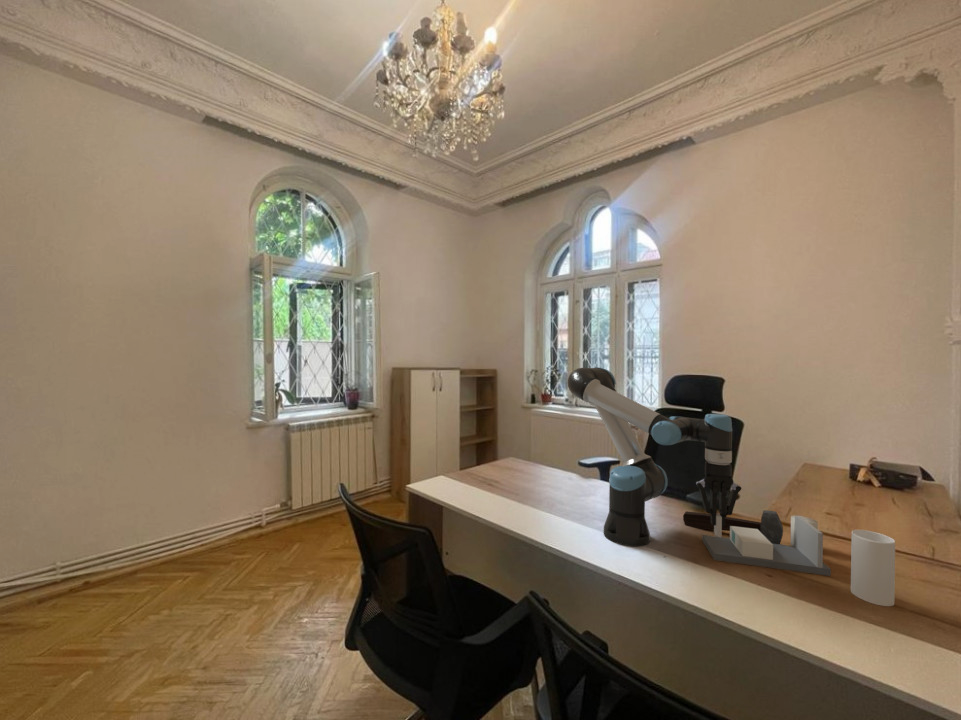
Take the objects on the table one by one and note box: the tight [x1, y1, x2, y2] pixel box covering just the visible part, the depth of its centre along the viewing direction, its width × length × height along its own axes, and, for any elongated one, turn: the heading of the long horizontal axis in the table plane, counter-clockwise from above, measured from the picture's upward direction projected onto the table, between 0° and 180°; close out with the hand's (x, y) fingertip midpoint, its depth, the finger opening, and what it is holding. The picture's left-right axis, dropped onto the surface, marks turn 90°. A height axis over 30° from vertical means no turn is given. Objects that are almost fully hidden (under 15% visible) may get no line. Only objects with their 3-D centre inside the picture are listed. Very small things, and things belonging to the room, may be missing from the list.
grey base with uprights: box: [701, 514, 832, 577], centre depth 126 cm, size 30×14×12 cm, turn 74°
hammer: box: [682, 510, 784, 544], centre depth 142 cm, size 5×11×30 cm
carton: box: [729, 526, 773, 560], centre depth 127 cm, size 8×12×4 cm
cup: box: [850, 529, 896, 607], centre depth 105 cm, size 8×8×16 cm
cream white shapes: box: [790, 515, 819, 546], centre depth 134 cm, size 7×7×9 cm
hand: (717, 535), depth 129 cm, fingers closed
